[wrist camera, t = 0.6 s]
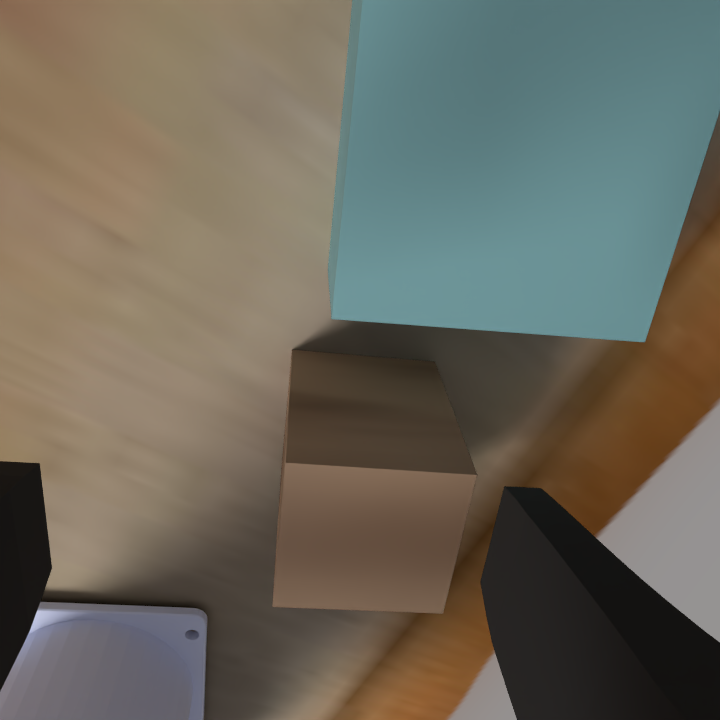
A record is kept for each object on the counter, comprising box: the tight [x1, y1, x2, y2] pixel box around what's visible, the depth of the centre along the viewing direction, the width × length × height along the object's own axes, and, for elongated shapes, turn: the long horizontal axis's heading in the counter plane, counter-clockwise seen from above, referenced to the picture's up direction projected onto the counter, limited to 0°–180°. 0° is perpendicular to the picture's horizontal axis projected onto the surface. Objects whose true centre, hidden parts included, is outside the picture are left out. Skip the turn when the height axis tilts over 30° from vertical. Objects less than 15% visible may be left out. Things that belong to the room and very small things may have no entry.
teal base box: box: [328, 0, 720, 342], centre depth 17 cm, size 8×8×4 cm
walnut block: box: [272, 350, 477, 614], centre depth 19 cm, size 4×4×6 cm
